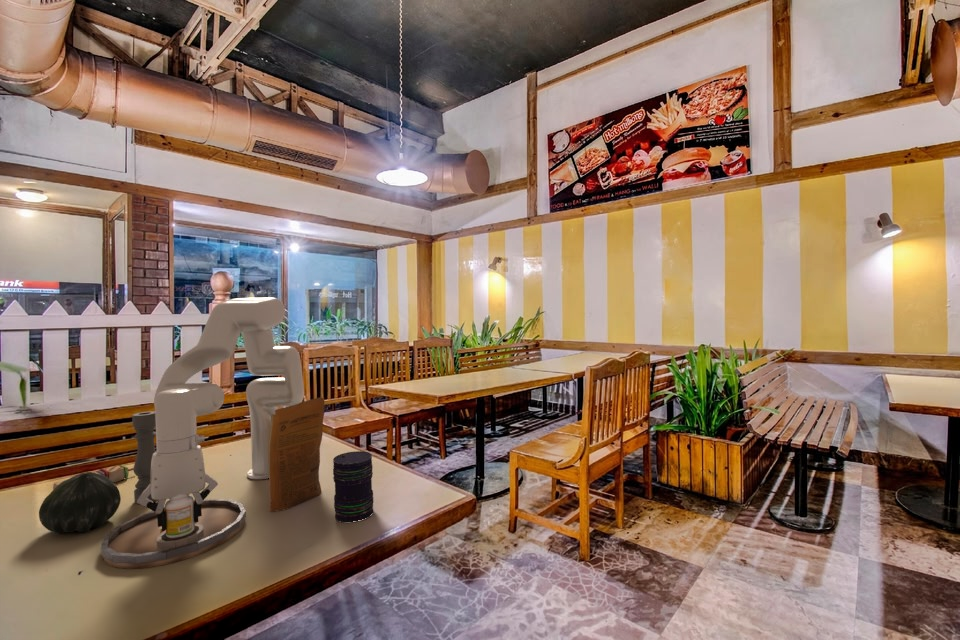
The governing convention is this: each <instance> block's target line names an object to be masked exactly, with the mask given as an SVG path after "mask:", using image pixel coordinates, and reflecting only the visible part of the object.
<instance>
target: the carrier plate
mask: <svg viewBox="0 0 960 640" xmlns="http://www.w3.org/2000/svg"><path fill="white" fill-rule="evenodd" d="M201 511H202V516H200V517H198V522H197V524H196V523H195V528H194V530H193V531H192V532H191V533H189V534H187V535H185V536H182V537H177V538H169V537H167V536H166V531H164V532H162V533H161V534H160V528H161V527H162V526H160V527H158V519H157V517H154V518H152V519H149V520H146V521H143V522H141V523H139V524H137V525H135V526H133V527H131V528H129V529H128V530H126V531H124V532H122V533H121V534H120V535H118V536H117V537H116V538H115V539H114V540H113V541H112V542H111V543H109V548H111V549H112V550H114V551H116V552H118V553H133V554H142V553H149V552H156V551H163V550H169V549H173V548H176V547H180V546H183V545H187V544H190V543H194V542H197V541H199V540H201V539H204V538H206V537H208V536H211V535H213V534H215V533H218V532H220V531H221V530H223V529H224V528H226V527H227V526H229V525H230V524H231V523H233V522H234V521H236V519H237V517H238V516H239V514H240V513H239V511H238V510H236V509H233V508H230V507H227V506H203V507H201ZM245 522H246V518H245V519H244V521H243V522H242V524H241V526H240V527H239V528H237V529H236V530H235V531H233V532H232V533H230V534H229V535H228V536H226V537H225V538H223V539H221V540H219V541H217V542H215V543H212V544H210V545H208V546H206V547H204V548H201V549H199V550H197V551H193V552H190V553H186V554H183V555H180V556H176V557H173V558H169V559H165V560H158V561H151V562H144V563H137V564H133V563H117V562H111V561H110V560H108V559H107V558H105V557H103V556H102V560H103V559H104V560H103V562H104V561H105V562H106V563H107V564H106V563H105V562H104V563H105V564H106V565H108V564H109V565H108V566H110V565H111V566H110V567H112V566H113V568H116V567H117V569H123V570H126V569H127V570H129V569H130V570H131V569H132V570H135V569H149V568H154V567H155V568H156V567H160V566H161V567H162V566H165V565H169V564H174V563H177V562H181V561H185V560H187V559H191V558H194V557H196V556H199V555H201V554H205V553H206V552H208V551H211V550H213V549H214V548H217V547H219V546H220V545H223V544H225V543H226V542H228V541H229V540H231V539H232V538H233V537H235V536H236V535H237V534H238V533H239V532H240V531H241V530H242V529H243V528H244V526H245Z"/></svg>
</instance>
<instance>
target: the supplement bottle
mask: <svg viewBox="0 0 960 640" xmlns="http://www.w3.org/2000/svg"><path fill="white" fill-rule="evenodd" d="M194 500H195V498H194V496H192V495H190V494H187V495H181V494H179V495H178V496H175V497H173V498H169V499H168V500H166V502H165V505H164V507H165V519H166V536H167V537H169V538H177V537H182V536H185V535H187V534H189V533H191V532H192V531H193V530H194V528H195V522H194Z"/></svg>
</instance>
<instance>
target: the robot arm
mask: <svg viewBox="0 0 960 640" xmlns="http://www.w3.org/2000/svg"><path fill="white" fill-rule="evenodd" d="M285 315H286V308H285V305H284V303H283V302H282V300H280V299H279V298H277V297H238V298H237V297H236V298H232V299H228V300H226V301H222V302H219V303H217V304H216V305H214V307H213V308H212V310H211V312H210V315H209V317H208V319H207V321H206V323H205V326H204V328H203V330H202V333H201V336H200V337H199V340H198V342H197V344H196V345H195V346H193V347H192V348H191V349H189V350H187V351H185V353H183V354H182V355H180V356H179V357H178V358H177V359H176V360H174V361H173V362H172V363H171V364H170V365H169V366H168V367H167V368H166V369H165V371H164V373H163V375H162V377H161V379H160V381H159V383H158V386H157V388H156V391H155V393H154V396H153V405H154V411H155V419H156V427H155V432H156V436H155V437H156V444H155V445H156V452H155V453H153V456H152V461H151V474H150V485H149V486H148V487H147V488H146V489H145V490H144V491H143V493H142V494H141V495H140V496H139V497H138V498H137V503H139V504H138V505H141V506H143V507H145V508H147V509H148V510H150V511H154V512H156V514H157V519H158V527H160V526H162V531H165V530H166V519H165V509H164V507H165V504H166V502H167V500H170V499H169V498H173V497H175V496H178V495H179V494H181V495H187V494H189V495H190V494H192V497H193V499H194V521H195V522H198V517H200V516H202V511H201V503H202V502H203V500H204V499H207V497H208V496H209V495H210V493H211V492H213V490H215V488H216V487H217V486H218V484H219V483H218V481H217V480H216V479H214V478H213V477H212V476H210V475H209V474H208V473H206V469H205V462H204V461H205V460H204V455H203V450H202V446H201V445H199V443H201V442H205V435H204V434H203V435H199V434H198V433H197V432H198V431H197V417H199V416H204V415H210V414H213V413H215V412H217V411H218V410H219V409H221V407H222V406H223V404H224V401H225V392H224V390H223V388H222V387H221V386H219V385H218V384H216V383H212V382H210V383H209V382H197V383H196V382H195V383H194V382H190V383H187V382H188V381H189V379H191V378H192V377H193V376H195V375H196V374H198V373H200V372H201V371H204V370H206V369H209V368H211V367H214V366H216V365H219V364H221V363H223V362H226V361H229V359H230V358H231V357H232V356H233V354H234V352H235V349H236V346H237V344H238V340H239V338H240V336H242V339H243V344H244V351H245V358H246V359H245V360H246V365H247V369H248V371H249V373H250V374H252V375H253V376H256V377H257V376H262V377H261V378H256V379H253V380H252V381H250V382H249V383H248V384H247V386H246V389H245V393H246V394H245V395H246V401H247V404H248V409H249V415H250V416H249V418H250V419H249V420H250V442H251V444H250V445H251V466H252V468H250V469H249V470H248V471H247V473H246V477H247V478H248V479H250V480H267V479H268V478H269V468H268V441H269V432H270V422H271V415H273V414H275V410H277V409H278V407H288V406H293V405H296V404H299V403H301V402H303V400H304V396H305V387H304V377H303V367H302V361H301V355H300V353H299V351H298V349H296V347H295V346H290V345H275V342H274V334H273V331H272V329H271V328H274V327H277V326H279V325H280V324H282V322H283V320H284V318H285ZM264 376H265V377H264ZM266 376H267V377H266ZM268 376H281V377H268ZM268 480H269V479H268ZM206 483H207V484H208V485H207V486H206ZM150 494H151V497H152V499H153V500H157V501H152V500H149V499H147V497H148V496H149V495H150Z"/></svg>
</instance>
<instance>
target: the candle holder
mask: <svg viewBox="0 0 960 640" xmlns="http://www.w3.org/2000/svg"><path fill="white" fill-rule="evenodd" d="M131 418H132V420H131V421H132V427H133V429H134V430H135V432H136V434H135V435H134V436H133V438H134V440H136V442H137V443H136V444H137V453H136V457H135V461H134V464H133V467H132V468H133V470H132V471H133V473H134V475H135V476H136V477H137V482H136V484H134V487H135V489H134V490H133V499H134V501H133V502H134V504H135V505H140V504H139V503H137V498H138V497H139V496H140V495H141V494H142V493H143V491H144V490H145V489H146V488H147V487H148V486H149V485H150V474H151V461H152V456H153V453H155V452H157V450H156V449H155V437H156V419H155V410H154V411H152V410H151V411H143V412H136V413H134V414H132V415H131ZM154 430H155V431H154ZM147 499H149V500H152V501H154V502H157V501H158V500H153V499H152V497H151V494H150V495H149V496H148V497H147Z"/></svg>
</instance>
